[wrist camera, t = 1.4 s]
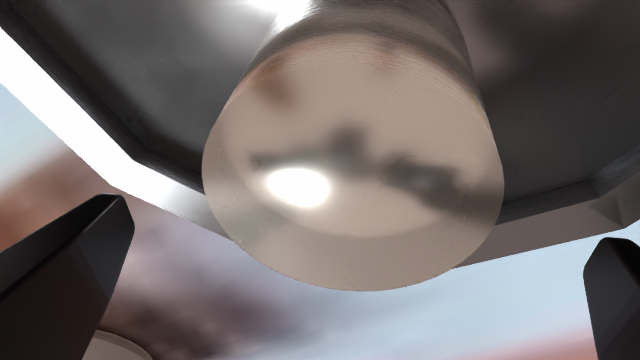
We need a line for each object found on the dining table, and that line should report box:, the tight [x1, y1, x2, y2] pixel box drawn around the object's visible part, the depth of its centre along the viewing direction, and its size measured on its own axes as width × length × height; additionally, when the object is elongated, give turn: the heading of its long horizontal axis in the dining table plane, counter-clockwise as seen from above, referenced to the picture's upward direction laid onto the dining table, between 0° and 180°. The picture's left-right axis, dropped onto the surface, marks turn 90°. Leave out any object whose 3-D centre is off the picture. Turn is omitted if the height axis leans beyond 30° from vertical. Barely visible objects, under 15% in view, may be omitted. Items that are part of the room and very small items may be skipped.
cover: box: [202, 0, 504, 291], centre depth 11 cm, size 6×6×5 cm
